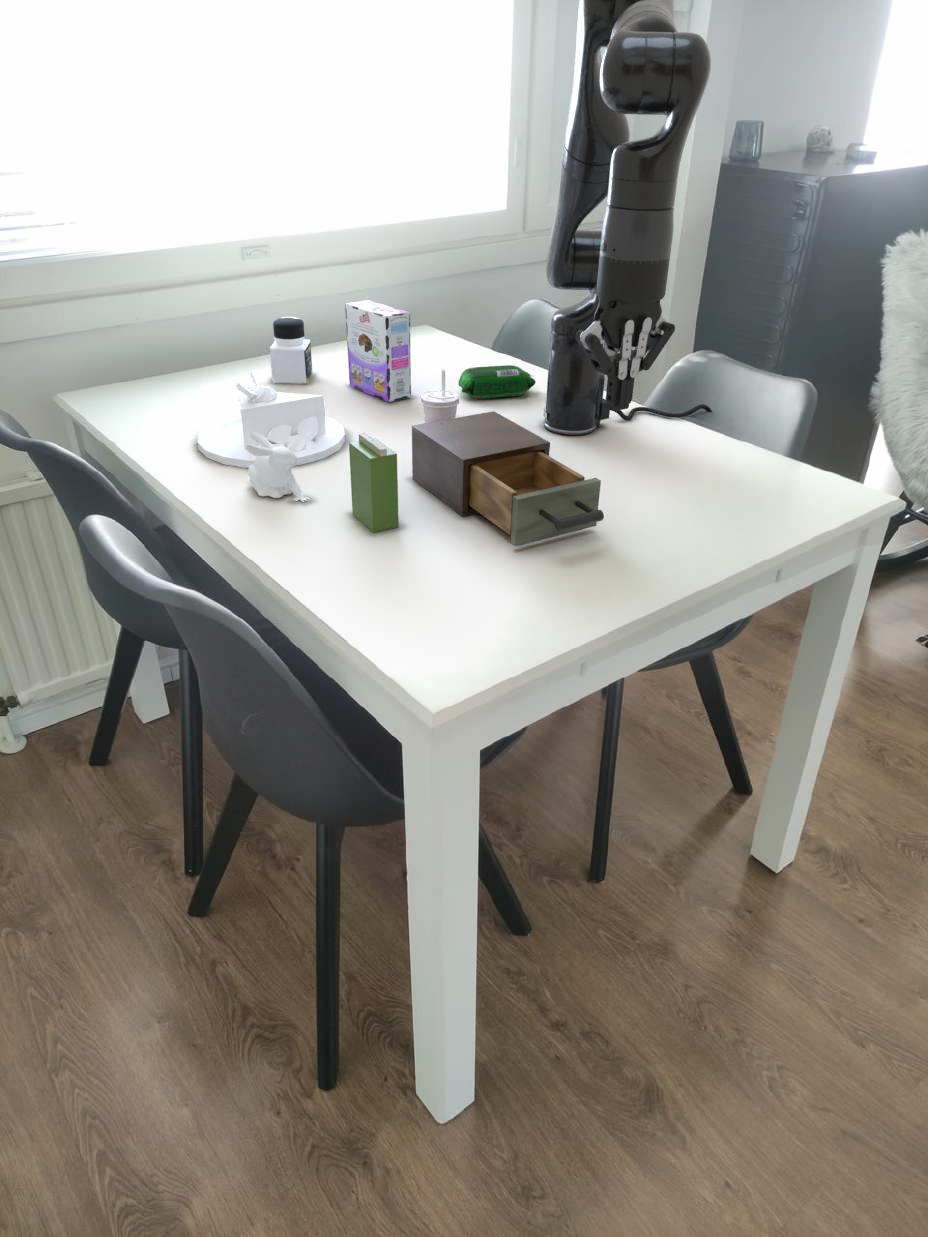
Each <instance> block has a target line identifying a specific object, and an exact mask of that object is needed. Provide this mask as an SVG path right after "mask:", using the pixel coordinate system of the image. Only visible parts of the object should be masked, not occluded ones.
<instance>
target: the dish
mask: <svg viewBox="0 0 928 1237" xmlns="http://www.w3.org/2000/svg"><path fill="white" fill-rule="evenodd" d="M248 372H249V374H250V375H251V376H250V377H251V379H252V381H253V383H254V385H255V387H254V388H252V389H250V388H249V387H247V386H245V385H244V384H242V383H241V382H239V381H237V383H236V384H235V388H236V389H237V390H238V391H240V413H237V414H233V415H229V416H225V417H222V418H220V419H217V420H215V421H213V422H211V423H208V424H207V425H205V426H204V428H202V429H201V430H200V431H199V432H198V434H197V448H198V450H199V452H200V453H201V454H203V456H204V457H206V458H207V459H209V460H212V461H215V462H217V463H219V464H222V465H226V466H230V467H231V466H232V467H239V468H244V469H249V466H250V465H252V464H254V463H255V459H256V456H255V455H253V454H251V453H249V452H248V451H247V449H246V445H247V444H251V445H254V446H255V445H256V444H257V441H255V440H253V439H252V438H251V437H250V435H251V433H252V432H256V433H258V434H259V435H261V436H263V437H264V438H265V437H266V436H267V438H268V441H269V442H270V443H271V444H272V445H273V446H275V447H285V448H288V449H289V450H291V451H292V452H293V453H294V454H295V455H296V458H297V460H296V465H295V466H303V465H306V464H309V463H312V462H313V463H314V462H316V461H320V460H323V459H326V458H328V457H329V456H331V455H333V454H334V453H337V452H338V451H340V449H341V448H342V447H343V445H344V444H345V443H346V432H345V428H344V426H343V425H344V424H342V423H340V422H338V421H337V420H336V419H334V418H333V417H330V416H327V415H326V412H325V411H326V410H325V396H324V395H323V394H322V395H321V394H311V393H310V394H309V393H297V392H296V393H294V392H281V391H276V390H275V389H273V388H272V387H270V386H267V385H262V384H261V385H259V381H258V379H257V377H256V376H255V374H254V373H253V371H252V370H251V368H250V369H248ZM295 466H294V467H295Z"/></svg>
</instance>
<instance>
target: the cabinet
mask: <svg viewBox="0 0 928 1237" xmlns="http://www.w3.org/2000/svg"><path fill="white" fill-rule="evenodd" d="M550 448H551V442H550V441H548V440H546V439H545V438H543V437H541V436H539V435H537V434H535V433H534V432H532V431H531V430H529V429H527V428H525V427H523V426H521V425H520V424H518V423H516V422H515V421H513V420H510V419H509V418H507V417H505V416H503V415H502V414H500V413H498V412H496V411H495V410H493V411H487V412H481V413H475V414H471V415H470V414H469V415H465V416H464V415H463V416H458V417H455V418H452V419H447V420H441V421H435V422H430V423H425V422H424V423H420V424H414V425H411V465H412V466H411V467H412V469H411V471H412V472H411V473H412V480H413V481H414V482H416V483H417V484H418V485H420V486H421V487H422V488H423V489H425V490H426V491H428V492H429V493H430V494H432V495H433V496H434V497H435V498H437V499H438V500H439V501H441V502H442V503H444V504H445V506H448V507H449V508H450V509H451V510H453V511H454V512H455V513H457V514H458V515H459V516H461V517H462V518H463V517H468V516H472V515H476V514H480V513H479V512H477V511H476V510H475V509H473V508H472V507H471V506H469V505H468V473H469V465H470V464H474V463H479V462H484V461H489V460H494V459H499V458H504V457H509V456H514V455H519V454H524V453H528V452H533V451H538V450H539V451H541V452H543V453H544V454H546V455H548V456H550V452H551V450H550Z"/></svg>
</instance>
